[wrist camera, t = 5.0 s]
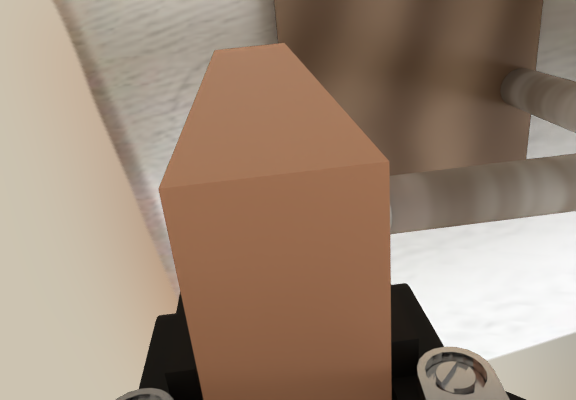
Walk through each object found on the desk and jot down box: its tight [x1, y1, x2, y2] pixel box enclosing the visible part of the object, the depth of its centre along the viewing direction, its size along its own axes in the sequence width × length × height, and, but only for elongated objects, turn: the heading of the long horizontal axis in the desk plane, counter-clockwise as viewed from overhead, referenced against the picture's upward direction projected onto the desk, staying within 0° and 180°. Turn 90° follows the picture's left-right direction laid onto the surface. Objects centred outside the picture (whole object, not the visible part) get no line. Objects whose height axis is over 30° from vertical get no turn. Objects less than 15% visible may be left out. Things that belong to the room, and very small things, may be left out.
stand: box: [274, 0, 576, 234], centre depth 24 cm, size 16×14×18 cm
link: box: [159, 43, 392, 400], centre depth 16 cm, size 3×10×16 cm, turn 5°
